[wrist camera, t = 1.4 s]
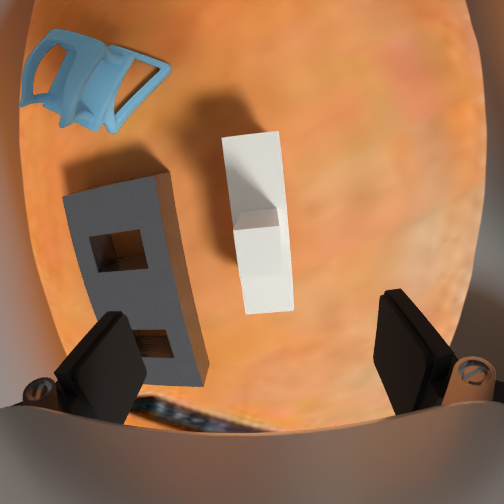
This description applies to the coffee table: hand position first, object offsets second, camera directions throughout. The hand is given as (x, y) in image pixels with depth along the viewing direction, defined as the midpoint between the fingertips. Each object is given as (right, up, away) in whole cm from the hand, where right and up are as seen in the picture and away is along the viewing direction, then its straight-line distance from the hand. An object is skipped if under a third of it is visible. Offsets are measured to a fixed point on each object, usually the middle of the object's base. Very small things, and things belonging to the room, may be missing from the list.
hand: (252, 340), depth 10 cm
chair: (-13, +19, +13) cm, 26 cm away
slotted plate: (-11, 0, +20) cm, 23 cm away
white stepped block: (+1, +7, +17) cm, 18 cm away
